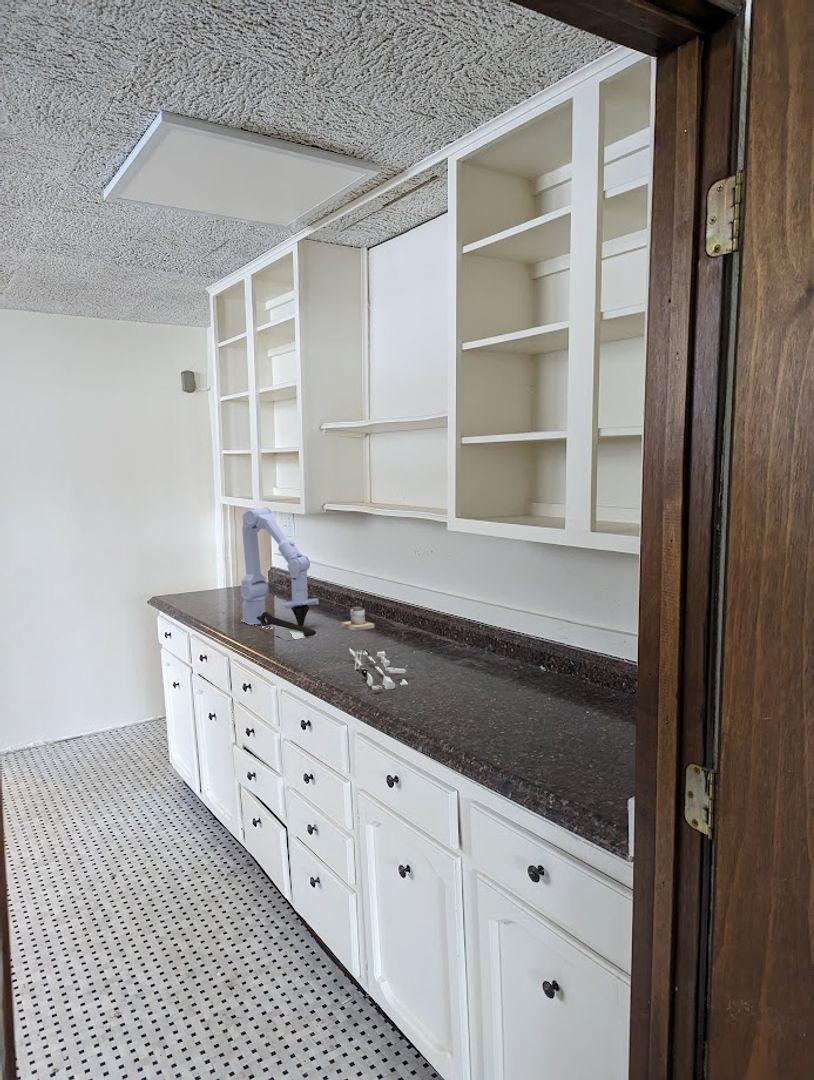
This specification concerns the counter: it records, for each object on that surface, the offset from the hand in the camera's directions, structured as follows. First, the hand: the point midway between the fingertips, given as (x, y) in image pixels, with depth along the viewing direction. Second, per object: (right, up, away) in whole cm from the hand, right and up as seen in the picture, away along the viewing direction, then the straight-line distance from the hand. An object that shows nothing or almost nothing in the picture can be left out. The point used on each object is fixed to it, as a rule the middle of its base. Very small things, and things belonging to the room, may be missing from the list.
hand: (300, 625), depth 260 cm
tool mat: (-5, -2, -4) cm, 7 cm away
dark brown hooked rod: (-6, -2, -4) cm, 7 cm away
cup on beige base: (+21, -1, +1) cm, 21 cm away
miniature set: (+31, -7, -57) cm, 65 cm away
